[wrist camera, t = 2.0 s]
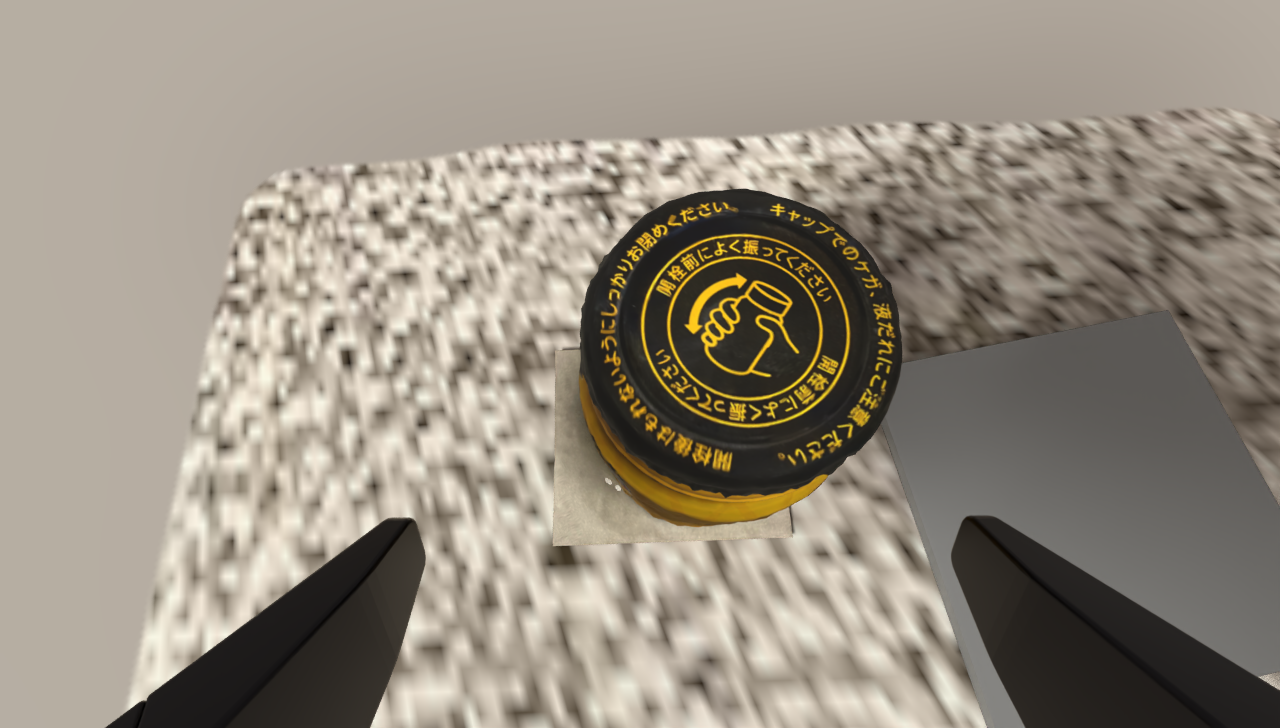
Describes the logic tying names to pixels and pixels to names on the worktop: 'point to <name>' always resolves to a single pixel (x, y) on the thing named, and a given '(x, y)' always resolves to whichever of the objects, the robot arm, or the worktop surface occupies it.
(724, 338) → the condiment
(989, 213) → the worktop surface
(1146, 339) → the mat
